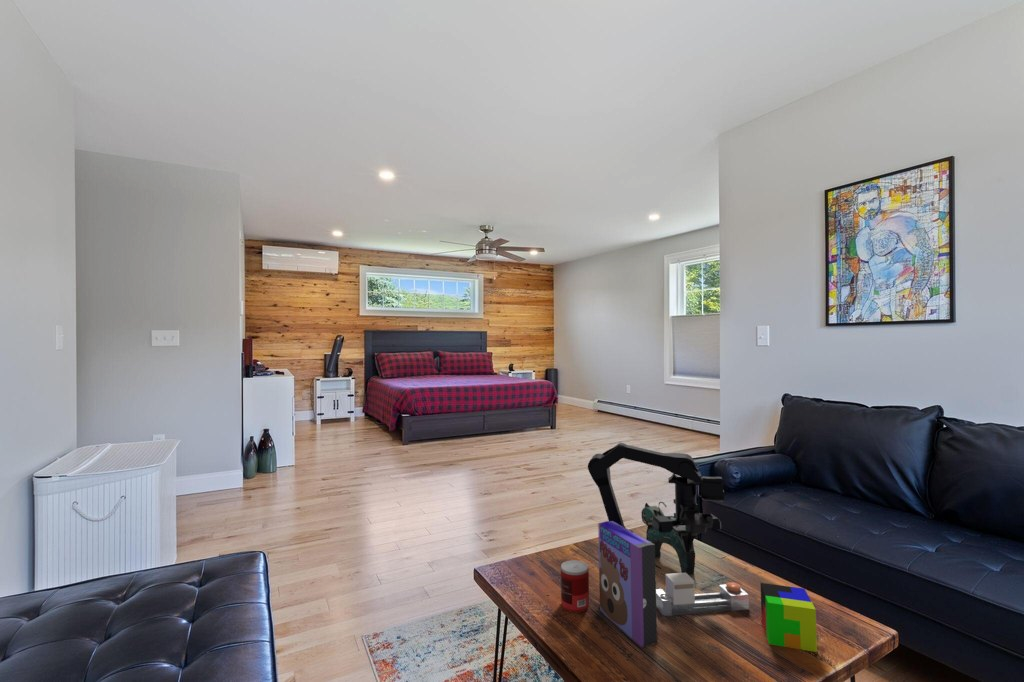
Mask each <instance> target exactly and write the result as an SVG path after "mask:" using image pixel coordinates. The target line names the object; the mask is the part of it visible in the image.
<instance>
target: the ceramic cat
mask: <svg viewBox="0 0 1024 682" xmlns="http://www.w3.org/2000/svg"><path fill="white" fill-rule="evenodd" d="M660 504H662V505H663V506H664V507H665V508H667V504H665V502H663V501H659V502H658V505H660ZM654 516H666V517H667V518H668V519H669V520H674V519H676V518H675V517H674V515H665V513H664V512H663V510H662V509H661V508H660V506H656V505H652V506H651V505H649V503H647V502H646V503H645V504H644V507H643V508H642V509H641V521H642V523H644V524H645V525H646V526H647V528H646V532H645V533H646V538H645V539H646V540H648V541H649V542H651V543H653V544H655V559H657V558H659V557H661V548H662V545H663V544H667V545H669V546H670V547H672V548H673V550H675V552H676V555H677V557H678V562H679V565H680V566H679V567H680V571H681V572H680V573H687V574H688V575H689V576H691V575H694V574H695V566H696V552H695V547H694V542H693V543H692V546H691V548H690V551H689V553H686V552H685V551H684V548H683V546H682V544H681V541H680V539H679V536H678V535H677V533H676V531H674V530H672V531H671V532H664V533H661V532H659V531H658V530H657V529H655V528H654V527H653V526H652V519H653V517H654Z"/></svg>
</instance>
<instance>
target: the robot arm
mask: <svg viewBox="0 0 1024 682" xmlns="http://www.w3.org/2000/svg"><path fill="white" fill-rule="evenodd" d="M622 459H625V460H629V461H634V462H637V463H641V464H645V465H650V466H654V467H659V468H661V469H664V470H666V471H668V472H670V473H672V475H671V476H670V477H668V480H667V481H668V483H669V484H674V492H675V494H674V497H675V498H673V500H672V501H673V504H674V505H675V512H673V516H674V517H675V518H676V519H674V520H669V519H668V518H667V517H666V516H667V515H665V516H654V517H653V519H652V526H653V527H654V528H655V529H657V530H658V531H659V532H661V533H664V532H671V531H672V530H674V531H676V533H677V535H678V536H679V539H680V541H681V544H682V546H683V548H684V551H685V552H686V553H689V551H690V548H691V546H692V543H693V544H694V540H695V537H696V536H697V535H699V534H707V533H706V532H707V529H711V530H713V531H714V530H715V531H716V530H721V529H722V521H721V520H720V519H719V518H718V517H717V516H715V515H714V514H712V513H705V512H703V513H701V512H700V508H699V507H700V506H699V504H698V503H697V495H698V497H700V498H701V499H702V501H709V502H720V503H721V502H723V503H724V502H725V490H724V483H723V478H722V476H706V475H705V476H702V474H701V471H699V470H698V468H697V466H696V464H695V463H696V462H695V459H694V458H693V456H692V455H690V454H688V453H682V452H681V453H679V452H670V453H669V452H667V453H666V452H661V451H656V450H651V449H647V448H643V447H638V446H634V445H630V444H629V445H628V444H626V443H623V442H619V443H617V444H616V445H615V446H614V447H613V446H612V447H611V448H609V449H608V450H606V451H604V452H603V453H596V454H594V455H592V456H591V458H590V460H589V462H588V463H587V470H588V472H589V475H590V477H591V479H592V480H593V482H594V483H595V485H596V486H597V488H598V491H599V494H600V496H601V502H602V503H603V507H604V510H605V514H606V516H607V521H614V522H615V523H617V524H619V525H621V526H623V527H624V528H626V526H625V523H624V520H623V517H622V514H621V510H620V506H619V504H618V501H617V498H616V494H615V490H614V489H613V484H612V480H611V479H612V478H611V467H612V466H613V465H615V464H616V463H617V462H619V461H620V460H622ZM696 486H697V488H696ZM630 531H632V532H633V533H634V531H633V530H630Z"/></svg>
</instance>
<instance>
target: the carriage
mask: <svg viewBox="0 0 1024 682" xmlns="http://www.w3.org/2000/svg"><path fill="white" fill-rule="evenodd" d="M695 590H696V589H695V580H694V579H693V578H692V577H691V575H688V574H687V573H682V572H676V573H675V572H674V573H665V593H666V594H667V595H668V597H669V598H670V599H671V602H672V603H673V605H679V604H692V603H695V594H696V592H695Z"/></svg>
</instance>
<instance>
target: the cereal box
mask: <svg viewBox="0 0 1024 682" xmlns="http://www.w3.org/2000/svg"><path fill="white" fill-rule="evenodd" d="M597 526H598V528H597V529H598V530H597V531H598V572H599V573H598V574H599V575H598V576H599V577H598V578H599V579H598V581H599V582H598V583H599V586H598V587H599V611H600V612H601V614H603V615H604V616H605V617H606V618H607V619H608V620H609V621H611V622H612V623H613V624H614V625H615V626H616V627H617V628H618V629H620V630H621V631H622V632H623V633H624V634H625V635H626V636H627V637H628V638H629V639H631V640H632V641H633V642H634V643H635V644H636V645H637V646H638V647H640V648H646V647H648V646H652V645H654V644H657V643H658V629H657V628H658V624H657V619H658V618H657V607H656V589H657V580H656V578H657V576H656V572H657V571H656V558H655V544H653V543H651V542H649V541H648V540H646V538H645V537H642V536H641V535H639V534H637V533H635V532H634V531H633V530H632V531H633V532H632V531H631V530H630V529H628V528H626V527H625V528H624V527H623V526H621V525H619V524H617V523H615V522H614V521H609V520H607V521H606V520H605V521H603V522H599V523H598V524H597Z"/></svg>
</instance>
